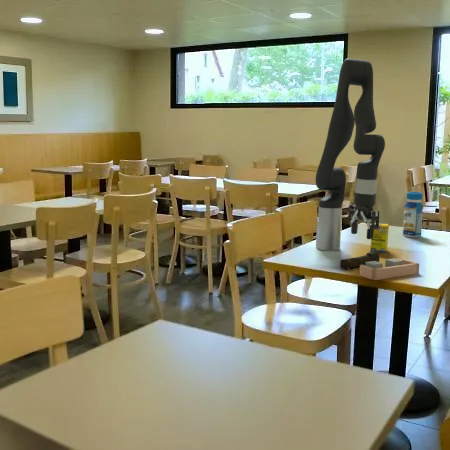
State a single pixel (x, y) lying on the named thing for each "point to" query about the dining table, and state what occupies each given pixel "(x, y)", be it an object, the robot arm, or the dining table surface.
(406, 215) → the beverage bottle
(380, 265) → the stone
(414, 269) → the pink rectangular tray
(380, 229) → the supplement box
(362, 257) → the hand tool
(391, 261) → the stone
